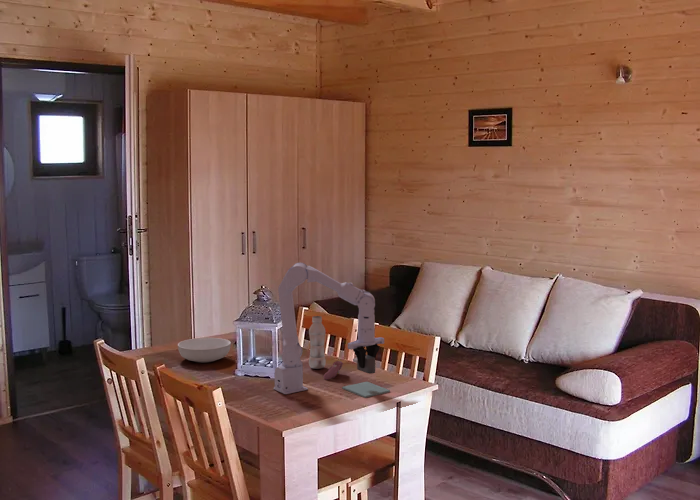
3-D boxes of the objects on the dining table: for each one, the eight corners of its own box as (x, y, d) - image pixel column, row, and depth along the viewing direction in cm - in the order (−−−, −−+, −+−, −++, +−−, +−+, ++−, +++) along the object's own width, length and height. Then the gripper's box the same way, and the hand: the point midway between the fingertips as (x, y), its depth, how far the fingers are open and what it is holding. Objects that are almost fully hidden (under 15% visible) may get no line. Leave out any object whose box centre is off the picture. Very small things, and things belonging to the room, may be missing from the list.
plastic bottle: (305, 369, 294) (305, 318, 292) (313, 365, 300) (313, 314, 298) (321, 371, 292) (321, 319, 289) (328, 367, 298) (328, 316, 295)
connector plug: (369, 374, 263) (369, 359, 263) (351, 367, 272) (351, 353, 271) (377, 372, 265) (377, 358, 265) (358, 365, 274) (358, 352, 273)
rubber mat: (364, 397, 260) (364, 396, 260) (342, 388, 270) (342, 386, 270) (390, 391, 267) (390, 390, 266) (367, 383, 277) (367, 381, 277)
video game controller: (332, 384, 280) (341, 368, 279) (321, 378, 281) (330, 362, 280) (338, 377, 290) (346, 361, 289) (327, 371, 290) (336, 355, 289)
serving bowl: (241, 357, 311) (241, 341, 311) (205, 369, 294) (205, 352, 293) (203, 350, 322) (203, 334, 322) (166, 361, 305) (166, 344, 304)
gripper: (356, 333, 258) (356, 372, 260) (390, 327, 267) (389, 365, 269) (344, 329, 264) (343, 368, 266) (377, 323, 272) (376, 361, 274)
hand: (366, 366), depth 267 cm, fingers closed on connector plug, 3 cm apart
